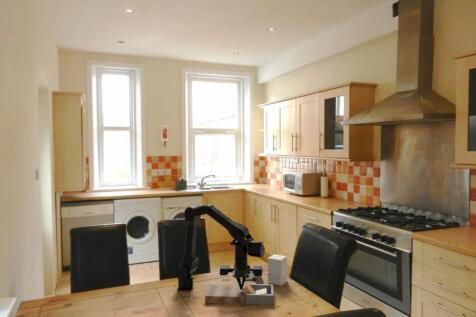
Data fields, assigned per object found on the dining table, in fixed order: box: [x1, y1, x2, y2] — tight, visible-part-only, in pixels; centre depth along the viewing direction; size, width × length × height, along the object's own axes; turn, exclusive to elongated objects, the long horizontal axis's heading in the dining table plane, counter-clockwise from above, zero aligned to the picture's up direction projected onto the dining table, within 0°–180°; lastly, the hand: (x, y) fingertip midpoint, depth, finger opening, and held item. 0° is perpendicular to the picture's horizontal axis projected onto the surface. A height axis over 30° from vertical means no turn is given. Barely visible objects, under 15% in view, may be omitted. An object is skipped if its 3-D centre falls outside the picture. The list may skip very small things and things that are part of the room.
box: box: [245, 283, 275, 306], centre depth 160 cm, size 12×12×4 cm
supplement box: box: [267, 253, 288, 287], centre depth 178 cm, size 7×7×13 cm
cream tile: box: [255, 288, 268, 294], centre depth 160 cm, size 5×5×2 cm
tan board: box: [204, 284, 246, 305], centre depth 161 cm, size 17×12×3 cm
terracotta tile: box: [243, 282, 255, 294], centre depth 160 cm, size 5×5×2 cm
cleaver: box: [241, 273, 265, 284], centre depth 182 cm, size 29×10×2 cm, turn 10°
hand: (241, 289), depth 160 cm, fingers closed
